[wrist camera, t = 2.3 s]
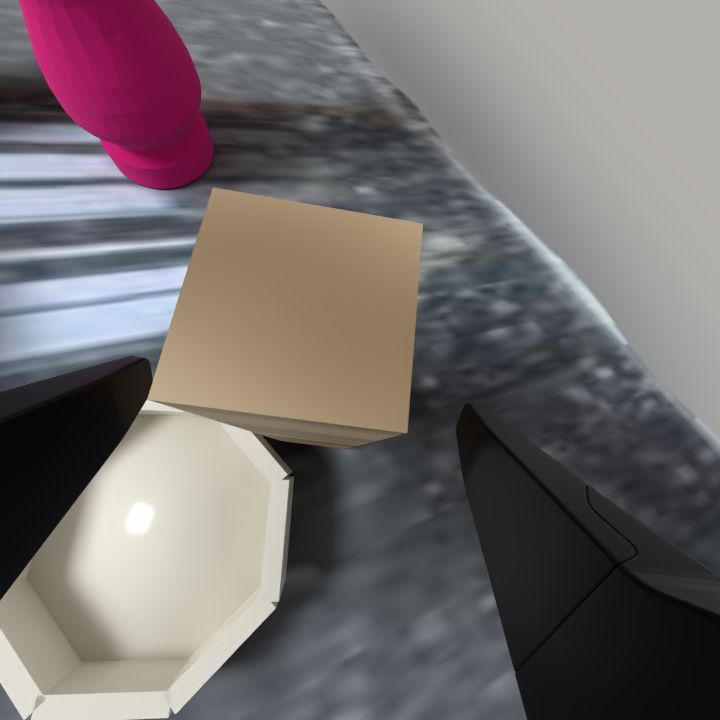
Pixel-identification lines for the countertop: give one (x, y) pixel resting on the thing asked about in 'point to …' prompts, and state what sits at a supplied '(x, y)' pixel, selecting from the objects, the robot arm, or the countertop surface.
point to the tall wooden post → (295, 322)
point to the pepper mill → (125, 84)
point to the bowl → (150, 573)
